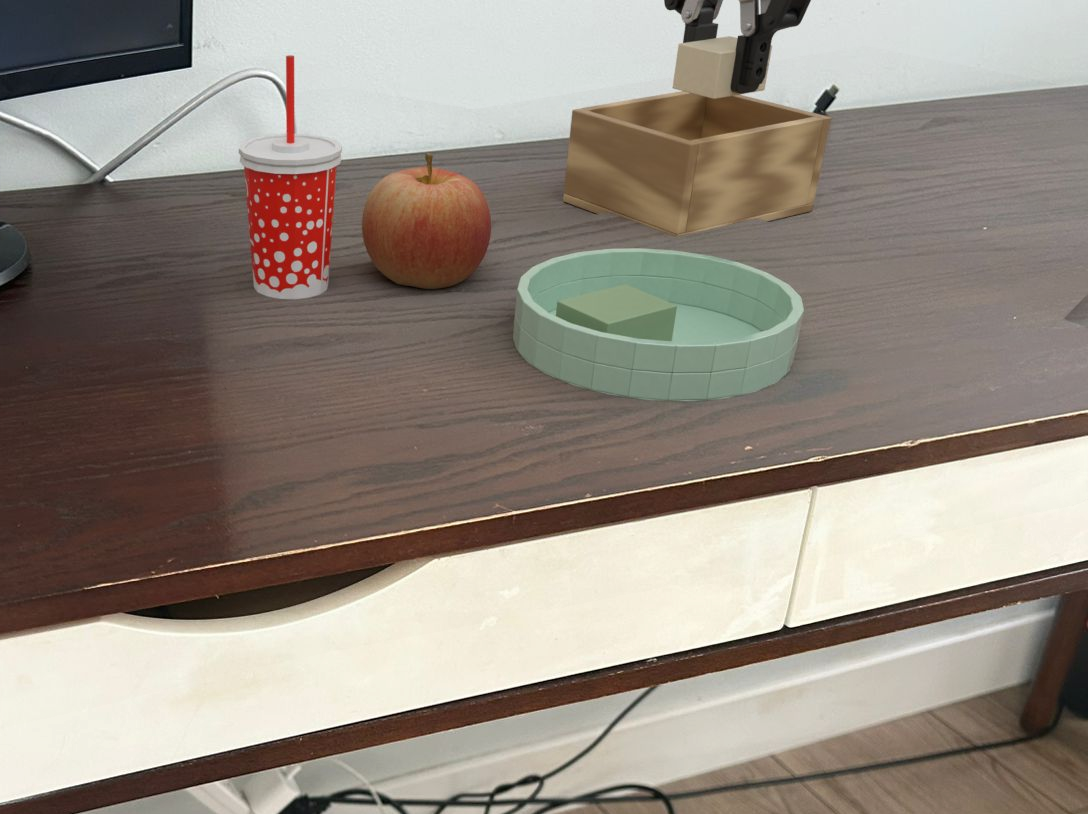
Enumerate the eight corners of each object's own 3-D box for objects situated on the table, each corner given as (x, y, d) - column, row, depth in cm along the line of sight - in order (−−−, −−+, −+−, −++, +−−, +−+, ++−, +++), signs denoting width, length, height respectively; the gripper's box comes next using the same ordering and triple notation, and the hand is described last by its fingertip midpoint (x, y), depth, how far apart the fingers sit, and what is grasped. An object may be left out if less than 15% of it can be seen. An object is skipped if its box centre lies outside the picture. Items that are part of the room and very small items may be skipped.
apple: (362, 261, 90) (365, 137, 86) (484, 263, 90) (493, 139, 85) (358, 304, 84) (361, 172, 79) (489, 307, 83) (499, 174, 79)
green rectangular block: (618, 334, 78) (625, 283, 76) (669, 357, 75) (677, 305, 73) (551, 352, 76) (556, 300, 74) (601, 377, 73) (607, 323, 71)
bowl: (652, 288, 86) (660, 233, 84) (850, 369, 75) (864, 307, 73) (458, 336, 79) (462, 278, 77) (645, 433, 68) (655, 368, 66)
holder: (694, 174, 107) (708, 86, 104) (812, 211, 99) (831, 117, 95) (562, 201, 101) (571, 109, 98) (675, 243, 93) (690, 144, 89)
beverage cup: (285, 270, 89) (283, 41, 81) (359, 290, 86) (365, 54, 78) (222, 295, 85) (214, 57, 77) (297, 318, 82) (297, 72, 74)
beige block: (722, 80, 99) (729, 35, 97) (764, 90, 96) (772, 45, 94) (671, 88, 97) (678, 43, 95) (714, 99, 94) (721, 53, 92)
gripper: (896, -193, 84) (836, 98, 93) (722, -202, 94) (684, 62, 103) (811, -189, 80) (758, 112, 90) (641, -199, 91) (609, 73, 100)
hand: (719, 84), depth 96 cm, fingers closed on beige block, 4 cm apart
